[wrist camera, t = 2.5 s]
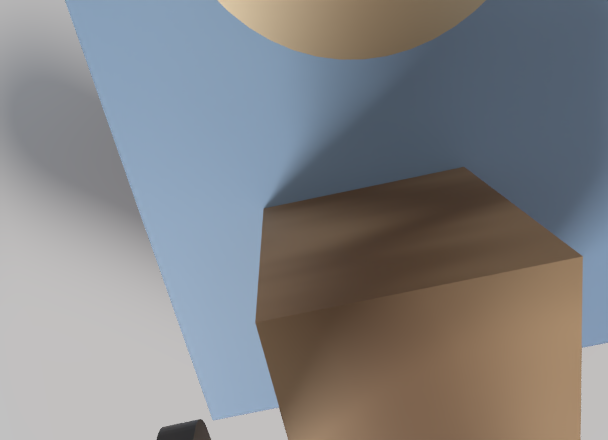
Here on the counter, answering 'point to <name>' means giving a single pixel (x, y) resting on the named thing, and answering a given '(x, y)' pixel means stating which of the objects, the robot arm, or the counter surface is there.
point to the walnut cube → (420, 315)
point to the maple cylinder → (351, 24)
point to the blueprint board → (339, 144)
